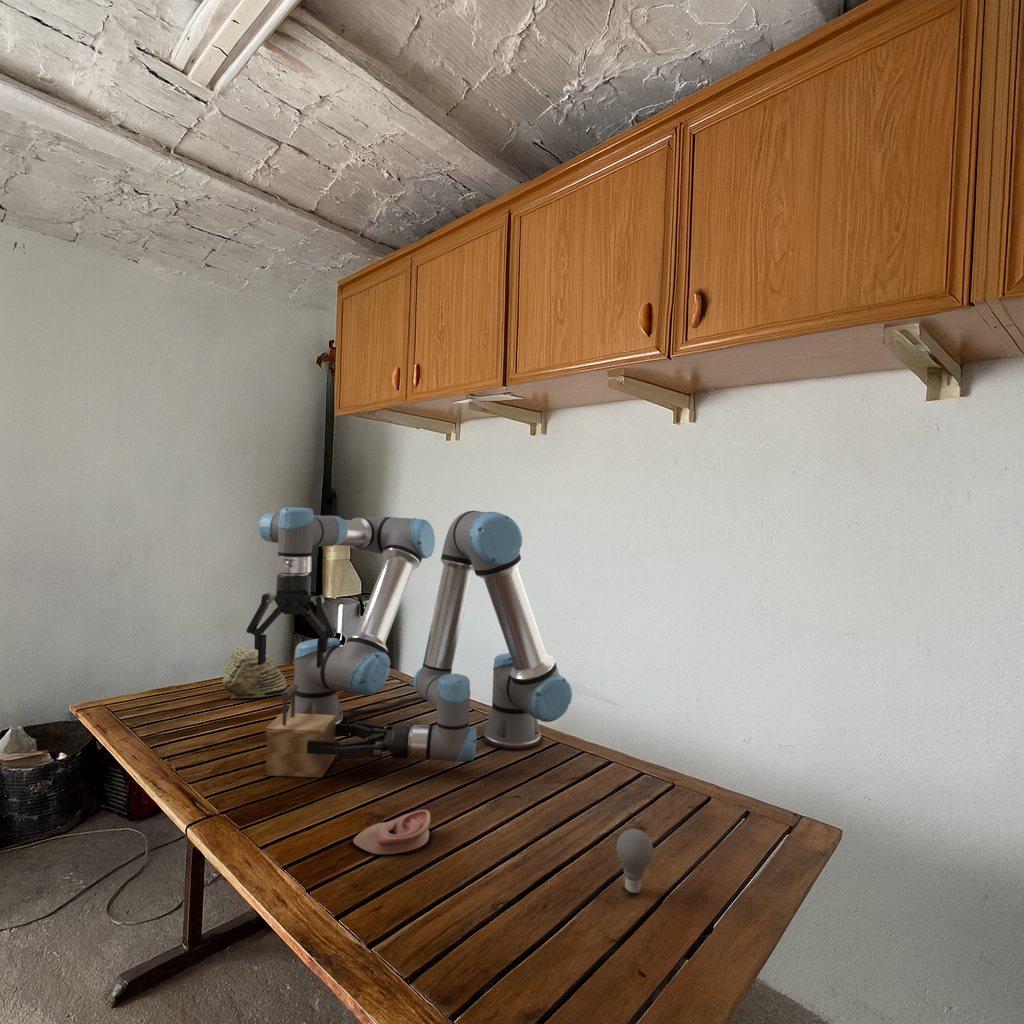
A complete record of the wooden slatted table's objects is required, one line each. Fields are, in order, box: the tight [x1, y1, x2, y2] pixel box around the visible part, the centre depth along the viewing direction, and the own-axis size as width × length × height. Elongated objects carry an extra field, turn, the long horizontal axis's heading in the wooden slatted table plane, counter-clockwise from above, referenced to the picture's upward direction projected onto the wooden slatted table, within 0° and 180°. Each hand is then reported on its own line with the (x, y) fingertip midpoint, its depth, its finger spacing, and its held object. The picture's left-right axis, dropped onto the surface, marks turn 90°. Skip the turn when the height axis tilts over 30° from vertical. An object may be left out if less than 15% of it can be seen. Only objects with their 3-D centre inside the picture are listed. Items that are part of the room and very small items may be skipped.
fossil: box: [222, 646, 288, 699], centre depth 198 cm, size 9×18×15 cm, turn 132°
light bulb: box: [615, 828, 654, 894], centre depth 106 cm, size 6×6×10 cm
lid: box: [265, 683, 336, 734], centre depth 148 cm, size 13×10×9 cm
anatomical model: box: [352, 809, 431, 856], centre depth 118 cm, size 13×4×12 cm
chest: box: [265, 719, 336, 778], centre depth 148 cm, size 13×10×10 cm
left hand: (290, 665), depth 147 cm, fingers open, 13 cm apart
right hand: (315, 737), depth 148 cm, fingers closed on chest, 10 cm apart
